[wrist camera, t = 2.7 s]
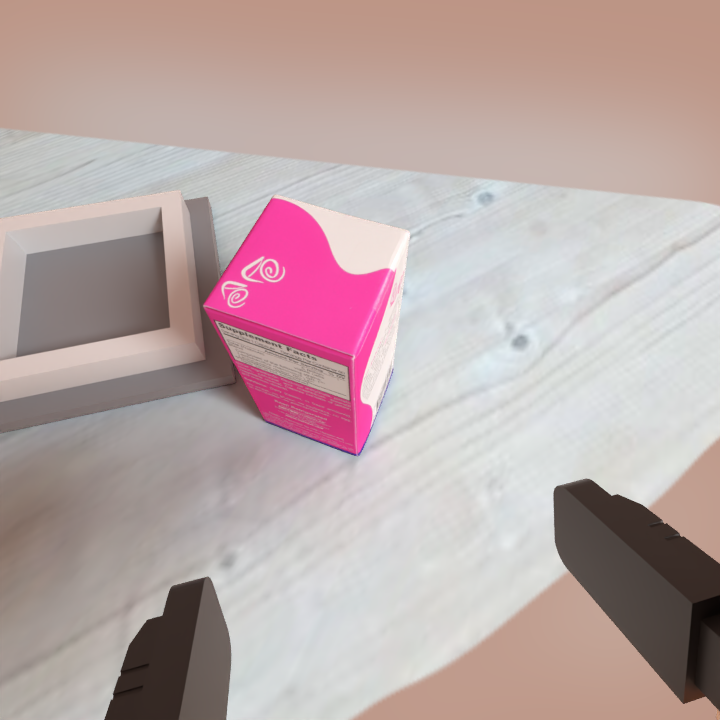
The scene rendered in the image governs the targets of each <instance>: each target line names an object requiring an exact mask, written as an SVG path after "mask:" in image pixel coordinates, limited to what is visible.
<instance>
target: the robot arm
mask: <svg viewBox="0 0 720 720" xmlns="http://www.w3.org/2000/svg"><path fill="white" fill-rule="evenodd" d="M554 527H555V543H556V547H557V550H558V553H559V556H560V558H561V560H562V561H563V563H564V565H565V566H566V567H567V569H568V570H569V571H570V572H571V573H572V574H573V576H574V577H575V578H576V579H577V580H578V582H579V583H580V584H581V585H582V586H583V587H584V589H585V590H586V591H587V592H588V593H589V594H590V595H591V597H592V598H593V599H594V600H595V601H596V603H597V604H598V605H599V606H600V607H601V608H602V610H603V611H604V612H605V613H606V614H607V615H608V617H609V618H610V619H611V620H612V621H613V622H614V623H615V625H616V626H617V627H618V628H619V629H620V631H621V632H622V633H623V634H624V635H625V636H626V638H627V639H628V640H629V641H630V642H631V643H632V645H633V646H634V647H635V648H636V649H637V650H638V652H639V653H640V654H641V655H642V656H643V657H644V659H645V660H646V661H647V662H648V663H649V664H650V666H651V667H652V668H653V669H654V670H655V671H656V673H657V674H658V675H659V676H660V677H661V678H662V680H663V681H664V682H665V683H666V684H667V685H668V687H669V688H670V689H671V690H672V691H673V692H674V694H675V695H676V696H677V697H678V698H679V699H680V701H681V702H682V703H683V704H685V703H688V702H691V701H694V700H696V699H699V698H702V697H705V696H706V697H707V698H708V699H709V700H710V701H711V702H712V704H713V705H714V706H715V707H716V708H717V714H716V720H720V564H719V563H718V562H716V561H715V560H714V559H713V558H711V557H710V556H708V555H707V554H706V553H705V552H703V551H702V550H701V549H699V548H698V547H697V546H695V545H694V544H693V543H692V542H690V541H689V540H688V539H686V538H685V537H681V536H680V534H679V533H678V532H677V531H676V530H675V529H673V528H672V527H670V526H669V525H668V524H667V523H666V524H664V523H663V520H661V519H660V518H659V517H657V516H656V515H655V514H653V513H652V512H651V511H649V510H648V509H647V508H646V507H644V506H643V505H641V504H639V503H636V502H634V501H632V500H629V499H627V498H625V497H622V496H620V495H618V494H617V495H613V496H611V495H610V494H609V493H607V492H606V491H605V490H604V489H602V488H601V487H600V486H599V485H597V484H596V483H595V482H594V481H592V480H590V479H583V480H579V481H575V482H571V483H567V484H564V485H560V486H557V487H556V488H555V490H554ZM230 670H231V645H230V637H229V632H228V629H227V625H226V622H225V619H224V616H223V613H222V610H221V607H220V604H219V601H218V598H217V595H216V592H215V589H214V586H213V583H212V581H211V579H210V578H209V577H205V578H201V579H197V580H193V581H189V582H185V583H182V584H178V585H174V586H172V587H171V589H170V591H169V594H168V597H167V601H166V605H165V608H164V612H163V616H160V617H156V618H152V619H149V620H147V621H146V622H145V624H144V625H143V627H142V628H141V629H140V631H139V632H138V634H137V635H136V636H135V638H134V639H133V641H132V642H131V643H130V645H129V648H128V651H127V654H126V657H125V660H124V663H123V666H122V669H121V676H120V677H119V678H118V681H117V684H116V687H115V690H114V693H113V700H111V702H110V705H109V708H108V711H107V714H106V717H105V720H226V715H227V703H228V692H229V681H230Z"/></svg>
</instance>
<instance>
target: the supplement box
mask: <svg viewBox="0 0 720 720" xmlns="http://www.w3.org/2000/svg"><path fill="white" fill-rule="evenodd" d="M409 238H410V232H409V231H407V230H405V229H400V228H397V227H393V226H389V225H385V224H381V223H377V222H373V221H369V220H365V219H361V218H357V217H354V216H350V215H346V214H343V213H339V212H335V211H332V210H329V209H325V208H322V207H318V206H315V205H311V204H308V203H304V202H301V201H297V200H294V199H291V198H287V197H283V196H280V195H274V196H273V197H272V198H271V200H270V202H269V203H268V205H267V206H266V208H265V209H264V211H263V213H262V214H261V215H260V217H259V219H258V220H257V222H256V223H255V225H254V226H253V228H252V230H251V231H250V233H249V234H248V236H247V237H246V239H245V240H244V242H243V244H242V245H241V247H240V248H239V250H238V251H237V253H236V255H235V256H234V258H233V259H232V261H231V262H230V264H229V265H228V267H227V269H226V270H225V272H224V273H223V275H222V276H221V278H220V279H219V281H218V282H217V284H216V285H215V287H214V289H213V290H212V292H211V293H210V295H209V296H208V298H207V299H206V301H205V303H204V304H203V307H204V309H205V311H206V313H207V315H208V317H209V318H210V320H211V322H212V324H213V326H214V328H215V329H216V331H217V333H218V335H219V337H220V339H221V341H222V343H223V344H224V346H225V348H226V350H227V351H228V353H229V356H230V357H231V359H232V361H233V363H234V365H235V366H236V368H237V370H238V372H239V374H240V375H241V377H242V379H243V381H244V383H245V385H246V386H247V388H248V390H249V392H250V394H251V396H252V398H253V400H254V401H255V403H256V405H257V407H258V409H259V411H260V413H261V414H262V416H263V418H264V420H265V421H266V422H268V423H270V424H273V425H276V426H278V427H281V428H283V429H286V430H289V431H291V432H294V433H296V434H299V435H301V436H304V437H307V438H309V439H312V440H314V441H317V442H320V443H322V444H325V445H327V446H330V447H333V448H335V449H338V450H341V451H344V452H346V453H349V454H352V455H355V456H359V455H360V453H361V452H362V450H363V448H364V445H365V443H366V441H367V438H368V436H369V433H370V431H371V428H372V426H373V423H374V421H375V418H376V416H377V413H378V410H379V408H380V405H381V403H382V400H383V397H384V395H385V392H386V389H387V387H388V384H389V381H390V378H391V375H392V373H393V364H394V355H395V346H396V338H397V331H398V323H399V315H400V308H401V301H402V293H403V284H404V277H405V269H406V261H407V253H408V245H409Z"/></svg>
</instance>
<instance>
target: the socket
mask: <svg viewBox="0 0 720 720" xmlns="http://www.w3.org/2000/svg"><path fill="white" fill-rule="evenodd" d="M220 278H221V273H220V266H219V259H218V252H217V245H216V238H215V231H214V224H213V217H212V209H211V206H210V203H209V200H208V197H203V198H197V199H191V200H184V199H183V196H182V194H181V192H180V190H177V191H170V192H164V193H158V194H151V195H145V196H139V197H132V198H126V199H120V200H113V201H107V202H101V203H94V204H88V205H82V206H75V207H69V208H63V209H56V210H50V211H44V212H37V213H31V214H25V215H18V216H12V217H6V218H0V433H4V432H8V431H13V430H18V429H22V428H27V427H32V426H36V425H41V424H46V423H50V422H55V421H60V420H64V419H69V418H74V417H78V416H83V415H88V414H92V413H97V412H102V411H106V410H111V409H116V408H120V407H125V406H130V405H134V404H139V403H144V402H148V401H153V400H158V399H162V398H167V397H172V396H176V395H181V394H186V393H190V392H195V391H200V390H204V389H209V388H214V387H218V386H223V385H228V384H232V383H236V380H235V373H234V366H233V361H232V359H231V357H230V356H229V353H228V351H227V350H226V348H225V346H224V344H223V343H222V341H221V339H220V337H219V335H218V333H217V331H216V329H215V328H214V326H213V324H212V322H211V320H210V318H209V317H208V315H207V313H206V311H205V309H204V307H203V304H204V303H205V301H206V299H207V298H208V296H209V295H210V293H211V292H212V290H213V289H214V287H215V285H216V284H217V282H218V281H219V279H220Z"/></svg>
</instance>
